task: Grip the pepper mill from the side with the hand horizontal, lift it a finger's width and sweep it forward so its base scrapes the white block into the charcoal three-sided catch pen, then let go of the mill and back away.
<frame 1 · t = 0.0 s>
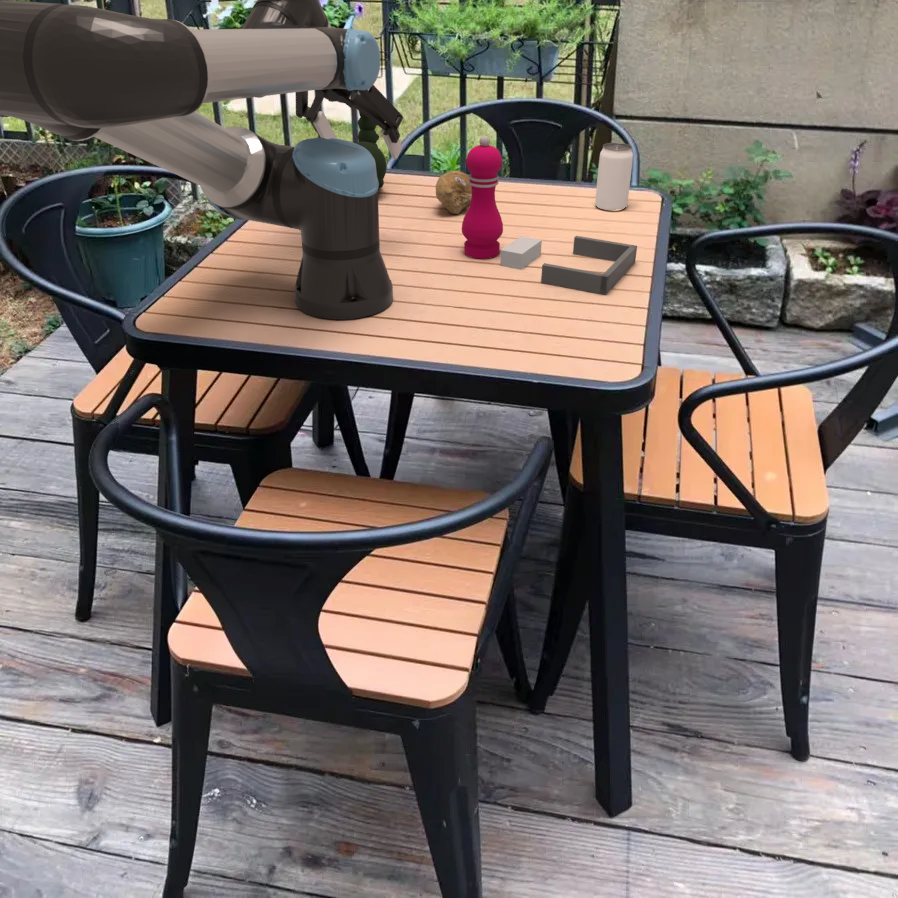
hand: (364, 148, 153), 15 cm above the table, tool tilted 35°, fingers open, 13 cm apart
pepper mill: (481, 253, 153), on the table
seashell: (454, 208, 175), on the table
can: (610, 208, 175), on the table
toy figurine: (366, 190, 185), on the table
white block: (520, 261, 150), on the table
catch pen: (589, 272, 145), on the table
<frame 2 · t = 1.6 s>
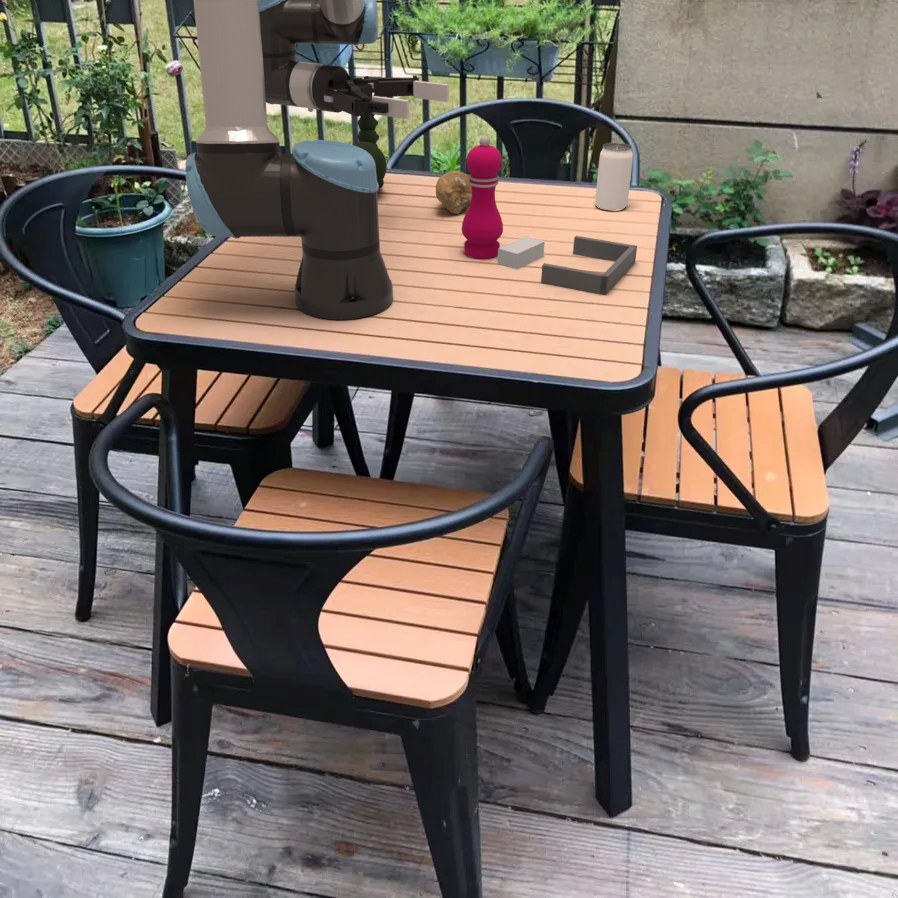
hand: (428, 101, 143), 24 cm above the table, tool horizontal, fingers open, 13 cm apart
nothing on the table moved.
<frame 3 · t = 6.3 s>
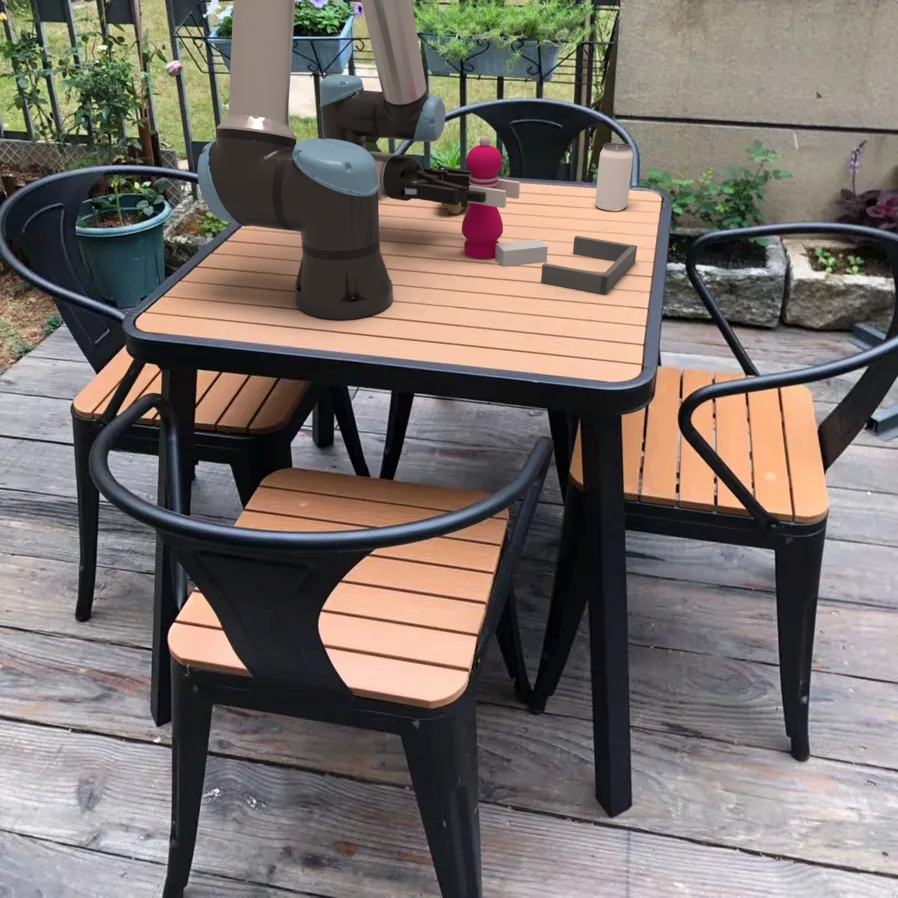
hand: (511, 194, 145), 11 cm above the table, tool horizontal, fingers closed on pepper mill, 5 cm apart
pepper mill: (481, 253, 153), on the table, touching gripper
when the fingers open (12 cm above the table, at t = 10.9 s): pepper mill stays where it is, on the table.
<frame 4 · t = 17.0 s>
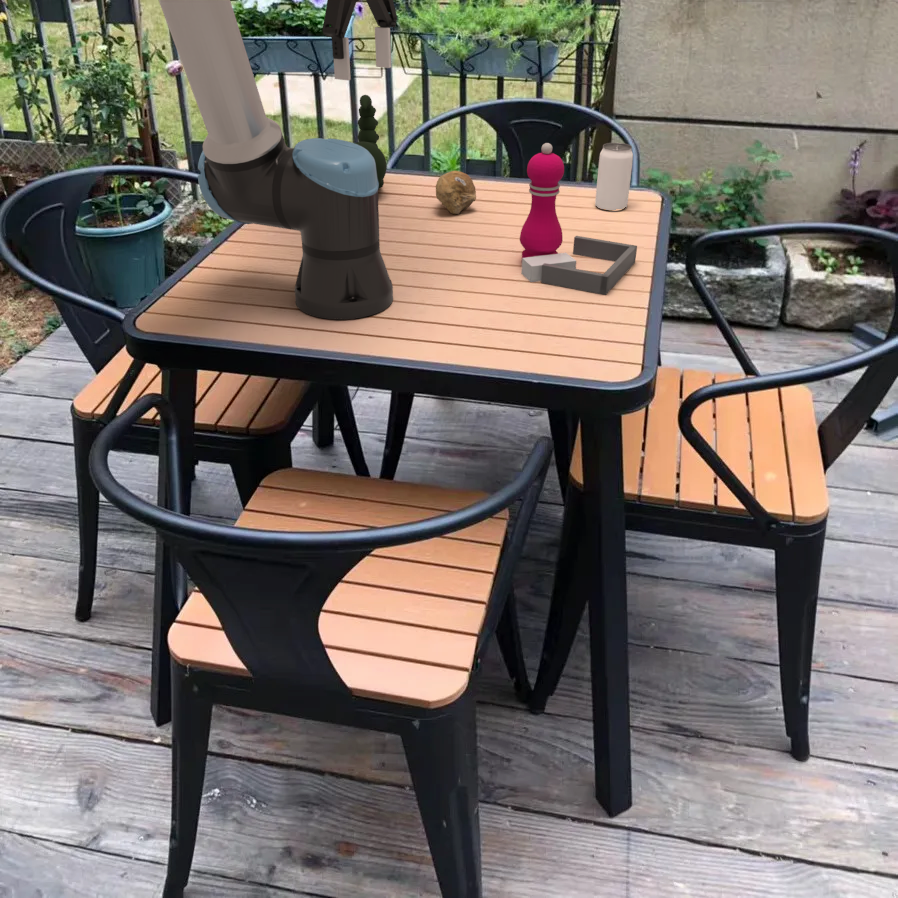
hand: (363, 73, 152), 27 cm above the table, tool pointing down, fingers open, 13 cm apart
pepper mill: (539, 264, 149), on the table
white block: (547, 276, 145), on the table
everything else where it was.
at the end: white block inside the target area (6.8 cm from its centre), on the table; pepper mill moved 11.0 cm from its start; pepper mill tilted 0° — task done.
